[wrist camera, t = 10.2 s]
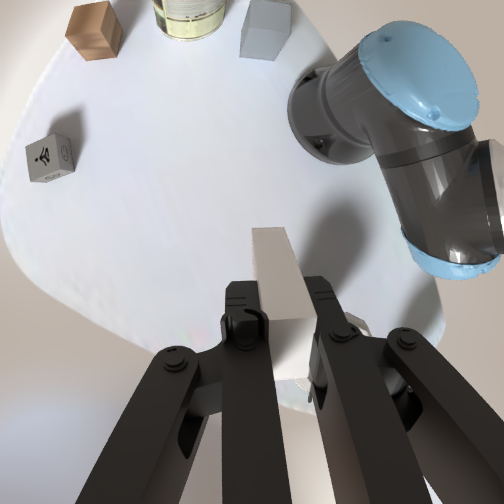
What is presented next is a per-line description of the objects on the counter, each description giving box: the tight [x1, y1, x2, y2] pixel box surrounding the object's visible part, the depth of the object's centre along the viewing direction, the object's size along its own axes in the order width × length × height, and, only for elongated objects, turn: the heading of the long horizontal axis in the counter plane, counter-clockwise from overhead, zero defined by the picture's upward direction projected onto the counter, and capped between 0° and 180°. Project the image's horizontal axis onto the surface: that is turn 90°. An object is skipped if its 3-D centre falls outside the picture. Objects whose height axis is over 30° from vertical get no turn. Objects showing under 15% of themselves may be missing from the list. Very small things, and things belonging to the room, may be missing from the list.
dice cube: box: [26, 133, 75, 183], centre depth 33 cm, size 5×5×5 cm
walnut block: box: [65, 1, 122, 61], centre depth 29 cm, size 5×5×9 cm
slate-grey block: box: [240, 0, 291, 61], centre depth 33 cm, size 5×5×9 cm
